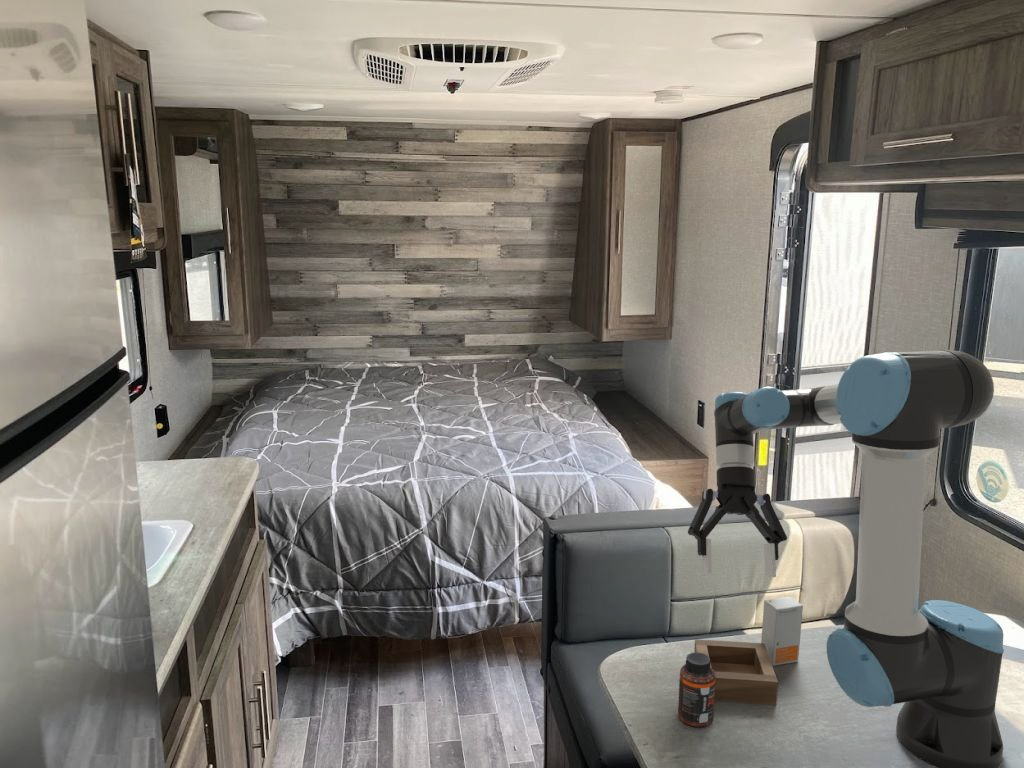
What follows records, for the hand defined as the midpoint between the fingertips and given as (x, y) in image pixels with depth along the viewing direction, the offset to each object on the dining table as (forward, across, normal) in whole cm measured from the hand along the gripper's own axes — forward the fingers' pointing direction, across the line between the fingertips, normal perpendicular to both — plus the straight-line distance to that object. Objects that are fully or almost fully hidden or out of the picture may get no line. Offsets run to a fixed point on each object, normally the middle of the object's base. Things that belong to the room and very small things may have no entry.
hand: (739, 575), depth 154 cm
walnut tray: (+19, +3, +2) cm, 20 cm away
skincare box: (+16, -9, -2) cm, 18 cm away
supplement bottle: (+25, +14, +10) cm, 31 cm away
